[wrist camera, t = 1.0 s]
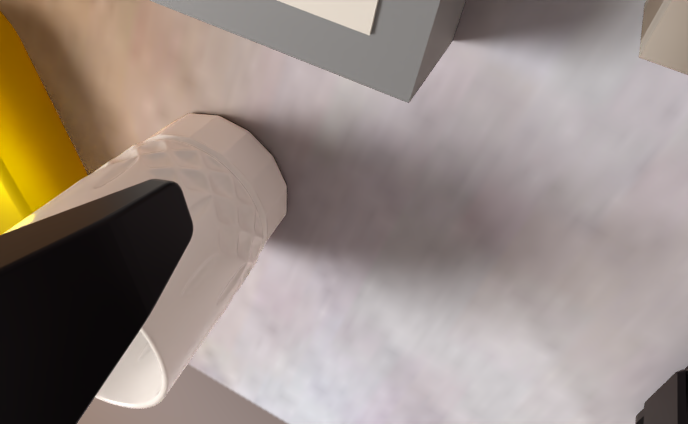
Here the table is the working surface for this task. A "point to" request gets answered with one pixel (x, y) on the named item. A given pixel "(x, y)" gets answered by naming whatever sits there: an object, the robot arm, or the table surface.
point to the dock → (344, 34)
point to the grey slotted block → (665, 34)
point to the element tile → (29, 137)
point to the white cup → (204, 247)
